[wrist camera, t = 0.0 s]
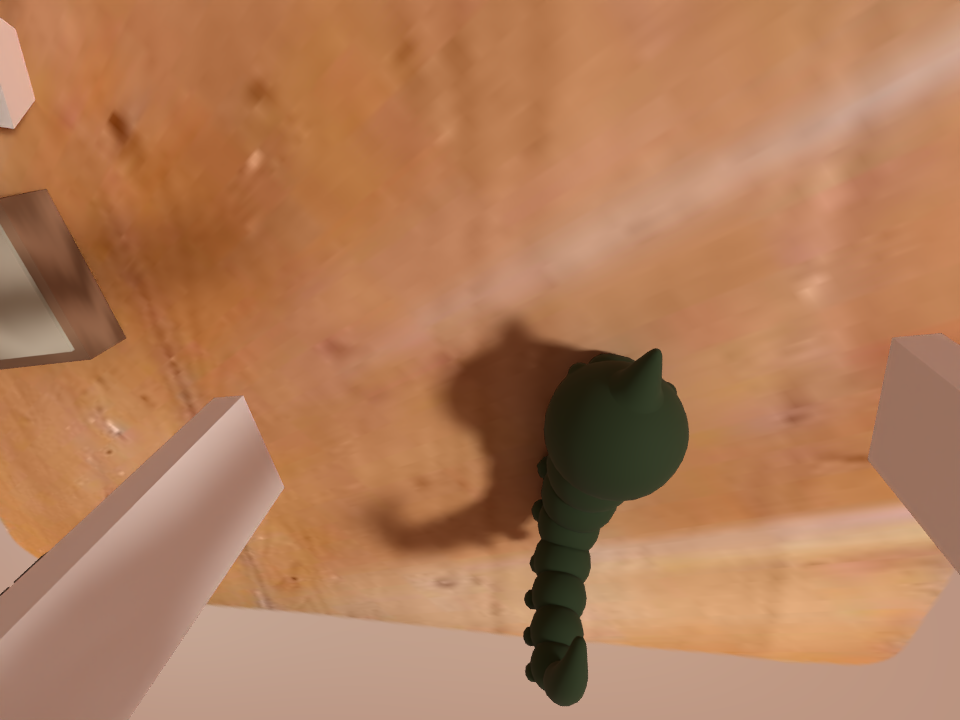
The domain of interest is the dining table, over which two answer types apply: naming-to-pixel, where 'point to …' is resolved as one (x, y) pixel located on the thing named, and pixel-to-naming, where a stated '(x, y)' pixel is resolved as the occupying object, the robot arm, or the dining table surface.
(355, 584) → the dining table surface
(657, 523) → the dining table surface
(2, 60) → the figurine
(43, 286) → the walnut pedestal
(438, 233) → the dining table surface
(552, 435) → the toy figurine
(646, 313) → the dining table surface
